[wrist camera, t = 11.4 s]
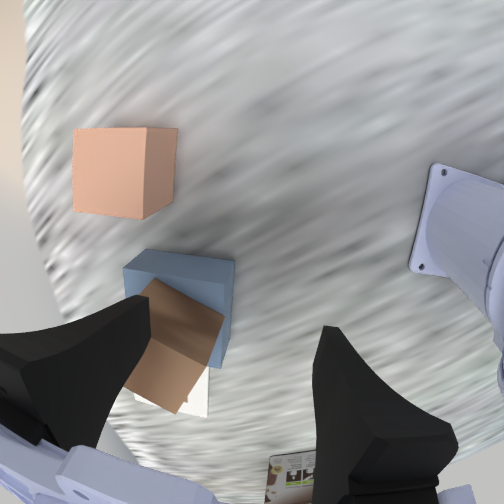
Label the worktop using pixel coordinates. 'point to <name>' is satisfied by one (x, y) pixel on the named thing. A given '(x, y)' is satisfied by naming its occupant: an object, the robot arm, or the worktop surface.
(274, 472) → the coffee box
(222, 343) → the blue block
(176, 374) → the walnut block
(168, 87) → the worktop surface
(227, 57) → the worktop surface
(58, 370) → the robot arm
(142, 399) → the card
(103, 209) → the peach block
